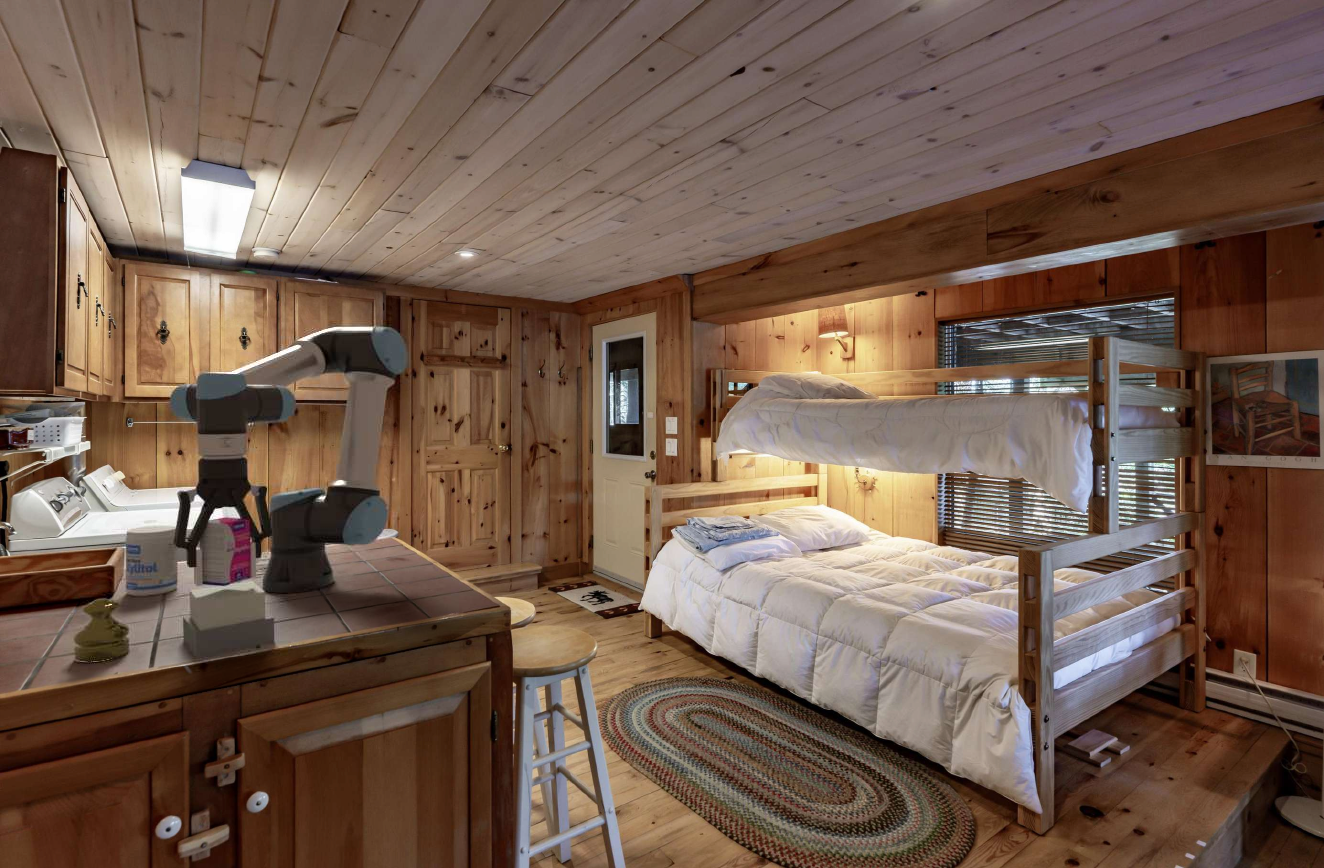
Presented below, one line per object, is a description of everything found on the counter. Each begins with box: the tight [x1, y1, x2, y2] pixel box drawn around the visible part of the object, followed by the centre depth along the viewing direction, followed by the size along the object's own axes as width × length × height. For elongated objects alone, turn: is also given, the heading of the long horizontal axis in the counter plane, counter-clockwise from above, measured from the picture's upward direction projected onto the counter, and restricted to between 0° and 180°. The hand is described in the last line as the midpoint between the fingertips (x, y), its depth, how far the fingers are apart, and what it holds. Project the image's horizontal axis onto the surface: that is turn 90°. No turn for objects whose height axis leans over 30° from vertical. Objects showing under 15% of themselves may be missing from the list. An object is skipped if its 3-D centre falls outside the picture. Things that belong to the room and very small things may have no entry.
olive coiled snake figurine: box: [72, 597, 130, 662], centre depth 115 cm, size 7×7×10 cm
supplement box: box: [199, 516, 251, 586], centre depth 122 cm, size 6×6×12 cm
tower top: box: [189, 580, 266, 631], centre depth 122 cm, size 10×10×5 cm
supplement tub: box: [125, 525, 179, 597], centre depth 153 cm, size 10×10×15 cm
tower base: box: [182, 610, 275, 660], centre depth 123 cm, size 12×12×5 cm
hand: (225, 579), depth 122 cm, fingers closed on supplement box, 8 cm apart
